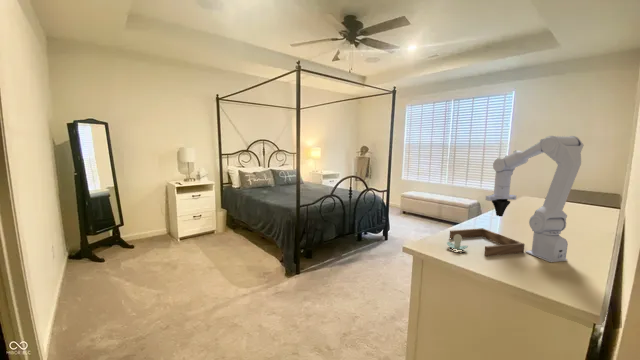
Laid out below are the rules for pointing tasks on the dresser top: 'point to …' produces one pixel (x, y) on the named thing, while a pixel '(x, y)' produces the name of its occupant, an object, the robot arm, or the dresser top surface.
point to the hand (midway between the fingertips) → (499, 215)
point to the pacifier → (457, 243)
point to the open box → (506, 243)
